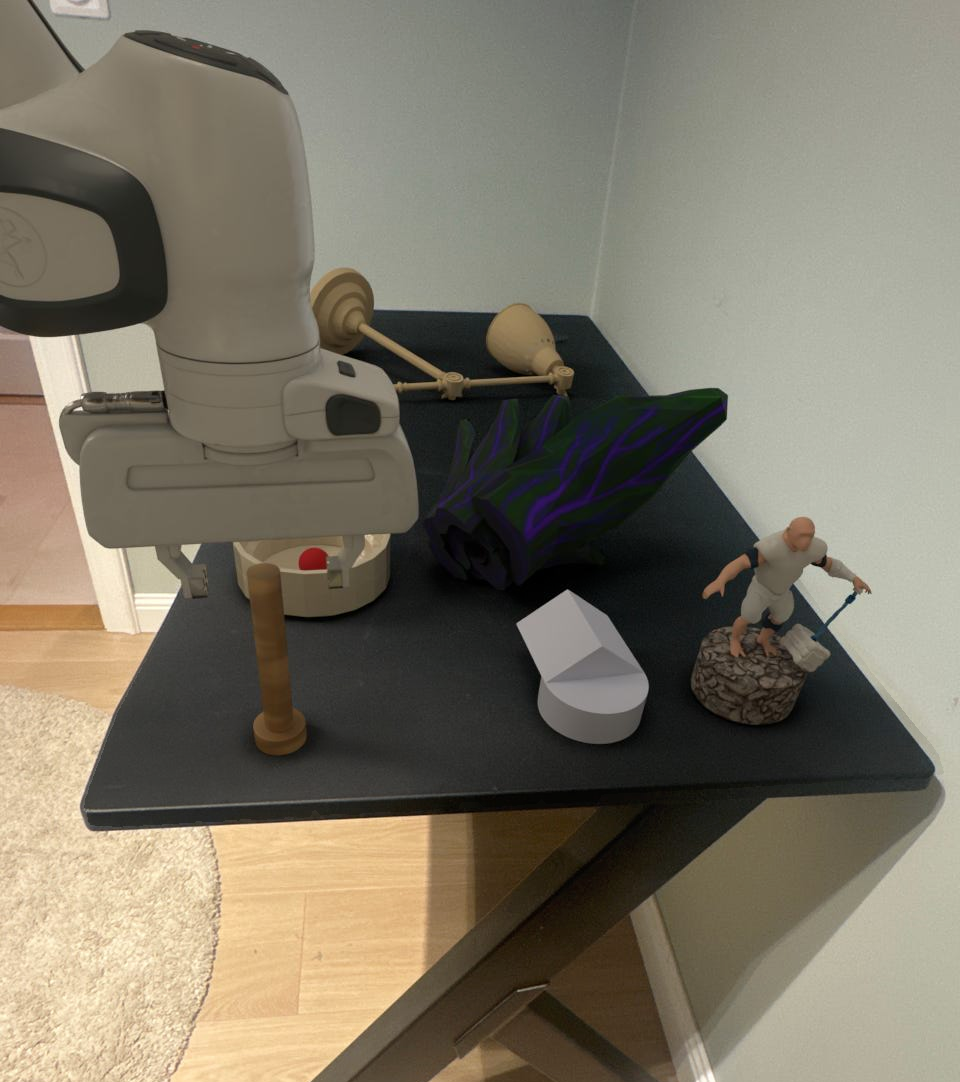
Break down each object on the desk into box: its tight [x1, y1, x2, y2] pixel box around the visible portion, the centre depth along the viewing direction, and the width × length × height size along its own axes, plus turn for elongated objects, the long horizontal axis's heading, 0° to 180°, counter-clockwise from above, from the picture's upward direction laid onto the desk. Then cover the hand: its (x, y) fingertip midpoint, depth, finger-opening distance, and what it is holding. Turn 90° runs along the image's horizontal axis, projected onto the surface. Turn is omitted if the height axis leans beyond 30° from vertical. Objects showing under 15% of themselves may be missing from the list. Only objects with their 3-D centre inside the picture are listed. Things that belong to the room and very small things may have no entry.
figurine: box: [690, 516, 873, 726], centre depth 65 cm, size 15×9×18 cm, turn 99°
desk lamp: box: [310, 266, 575, 401], centre depth 131 cm, size 15×35×40 cm
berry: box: [298, 548, 329, 571], centre depth 79 cm, size 3×3×3 cm
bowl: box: [232, 534, 392, 618], centre depth 79 cm, size 15×15×6 cm
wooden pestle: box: [247, 563, 308, 756], centre depth 57 cm, size 4×4×16 cm
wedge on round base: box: [516, 589, 650, 745], centre depth 67 cm, size 9×7×13 cm
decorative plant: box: [422, 387, 729, 591], centre depth 83 cm, size 21×26×30 cm
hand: (269, 589), depth 53 cm, fingers open, 8 cm apart
